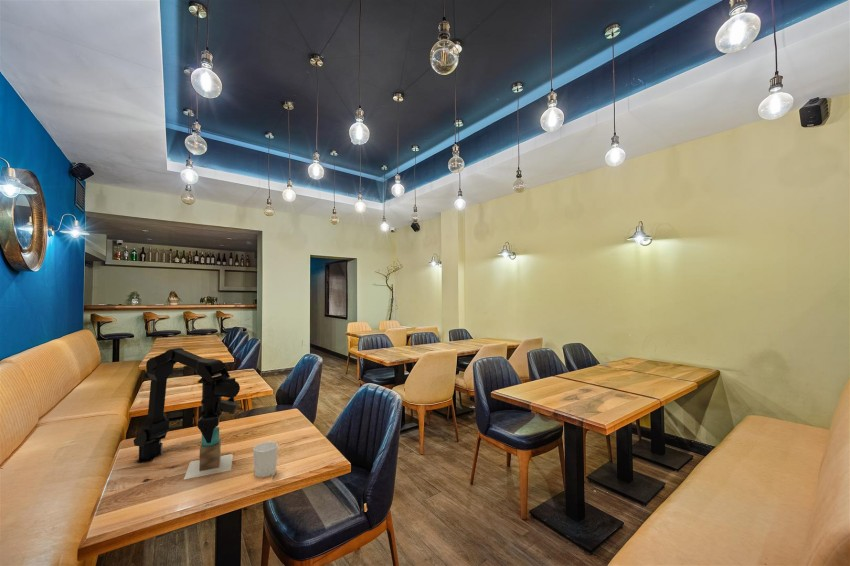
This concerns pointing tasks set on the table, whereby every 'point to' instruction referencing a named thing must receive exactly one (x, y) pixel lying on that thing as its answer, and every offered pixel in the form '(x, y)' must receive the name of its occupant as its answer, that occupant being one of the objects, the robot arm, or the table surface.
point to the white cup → (265, 459)
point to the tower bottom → (209, 463)
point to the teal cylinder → (214, 438)
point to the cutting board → (194, 469)
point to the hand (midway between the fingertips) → (210, 438)
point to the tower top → (210, 451)
